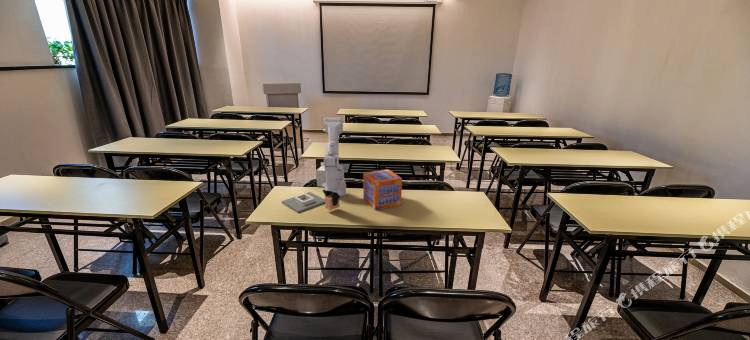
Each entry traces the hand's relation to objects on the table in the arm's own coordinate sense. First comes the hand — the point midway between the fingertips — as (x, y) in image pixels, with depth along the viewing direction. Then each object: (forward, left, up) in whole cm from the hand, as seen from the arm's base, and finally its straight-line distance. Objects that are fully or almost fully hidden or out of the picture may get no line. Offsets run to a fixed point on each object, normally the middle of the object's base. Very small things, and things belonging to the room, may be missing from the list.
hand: (332, 203), depth 155 cm
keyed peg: (0, 0, -2) cm, 2 cm away
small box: (-18, -32, -4) cm, 37 cm away
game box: (-26, +10, -4) cm, 28 cm away
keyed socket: (+5, -18, -4) cm, 19 cm away
